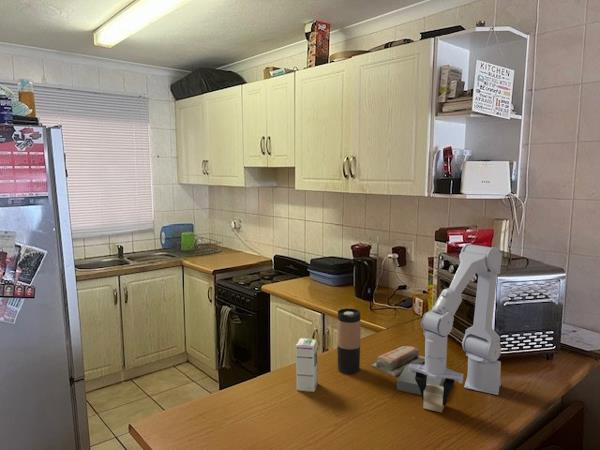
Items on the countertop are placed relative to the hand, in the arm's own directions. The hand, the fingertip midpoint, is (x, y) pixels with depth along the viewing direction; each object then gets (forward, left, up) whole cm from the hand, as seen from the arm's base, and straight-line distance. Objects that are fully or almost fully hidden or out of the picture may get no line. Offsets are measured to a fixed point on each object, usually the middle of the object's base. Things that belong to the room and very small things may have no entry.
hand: (434, 401), depth 121 cm
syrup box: (+37, +6, -2) cm, 38 cm away
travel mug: (+30, -11, -2) cm, 32 cm away
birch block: (0, 0, -1) cm, 1 cm away
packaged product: (+16, -23, -2) cm, 29 cm away
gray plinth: (+6, -11, -2) cm, 13 cm away
